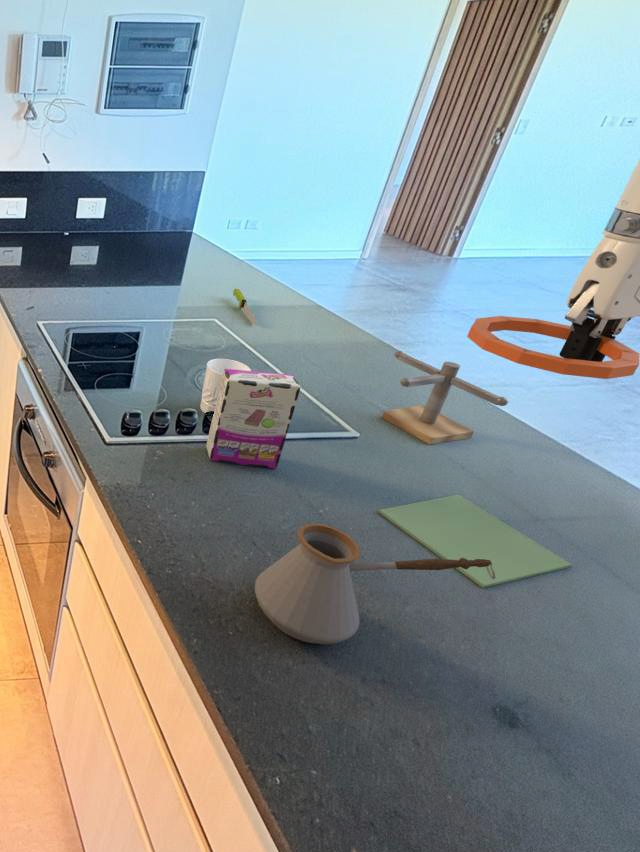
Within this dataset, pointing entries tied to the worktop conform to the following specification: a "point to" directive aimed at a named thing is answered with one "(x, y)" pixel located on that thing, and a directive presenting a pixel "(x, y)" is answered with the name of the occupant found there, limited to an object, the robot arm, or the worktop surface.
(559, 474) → the worktop surface
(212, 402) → the white cup
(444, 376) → the ring stand
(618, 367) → the ring
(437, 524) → the mat
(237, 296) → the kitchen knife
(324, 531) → the coffee pot
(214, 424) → the candy bar box
